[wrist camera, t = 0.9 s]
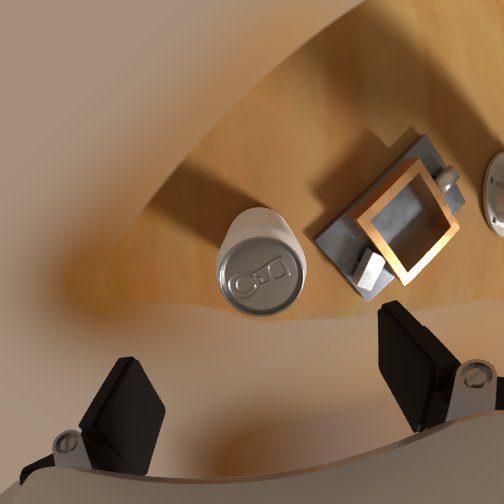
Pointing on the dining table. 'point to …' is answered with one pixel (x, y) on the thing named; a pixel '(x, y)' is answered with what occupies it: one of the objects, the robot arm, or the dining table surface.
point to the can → (260, 264)
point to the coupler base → (395, 221)
